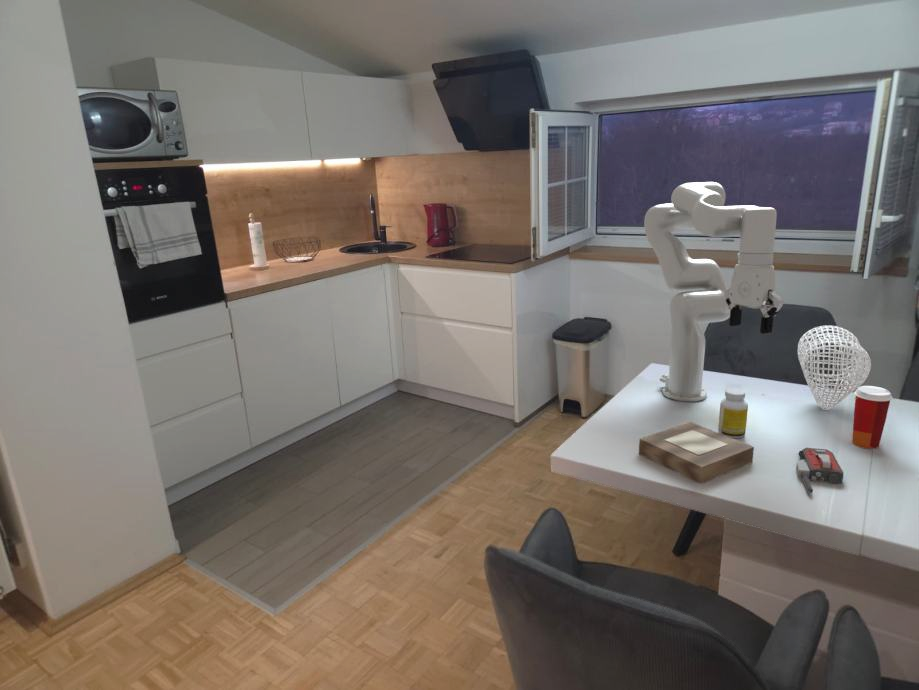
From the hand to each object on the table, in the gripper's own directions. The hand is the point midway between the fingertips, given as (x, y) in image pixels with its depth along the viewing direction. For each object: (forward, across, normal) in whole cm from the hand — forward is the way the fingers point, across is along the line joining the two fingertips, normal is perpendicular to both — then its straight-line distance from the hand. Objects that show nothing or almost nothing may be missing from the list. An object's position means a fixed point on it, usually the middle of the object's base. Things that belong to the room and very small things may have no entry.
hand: (750, 328), depth 156 cm
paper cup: (+28, +18, +21) cm, 40 cm away
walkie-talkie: (+29, +25, -3) cm, 38 cm away
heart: (+28, -2, +32) cm, 43 cm away
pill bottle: (+28, -1, -3) cm, 28 cm away
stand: (+28, +6, -21) cm, 35 cm away
